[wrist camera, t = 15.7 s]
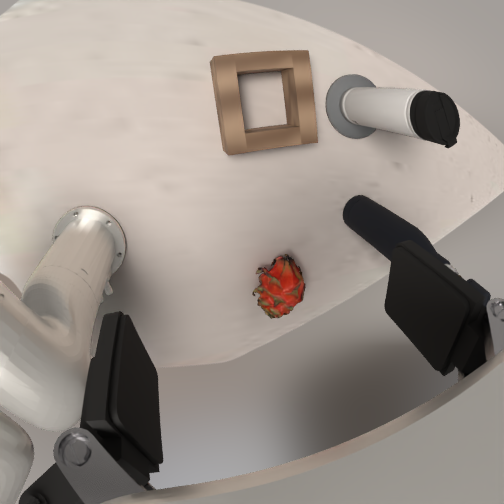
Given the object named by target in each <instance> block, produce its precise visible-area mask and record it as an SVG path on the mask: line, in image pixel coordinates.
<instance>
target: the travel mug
mask: <svg viewBox="0 0 504 504" xmlns="http://www.w3.org/2000/svg"><path fill="white" fill-rule="evenodd" d="M339 106H340V111H341V114H342V116H343V117H344V118H345V119H346V120H347V121H348V122H350V123H352V124H356V125H362V126H367V127H372V128H376V129H381V130H385V131H390V132H394V133H398V134H402V135H406V136H410V137H414V138H418V139H422V140H427V141H431V142H434V143H438V144H441V145H446V146H445V147H446V148H450V147H452V146H453V145H455V144H456V143H457V139H456V137H457V135H458V132H459V127H460V118H459V113H458V110H457V107H456V105H455V103H454V102H453V100H452V99H451V98H450V97H449V96H448V95H446V94H445V93H442V92H436V91H429V90H421V89H407V88H381V87H353V88H349V89H347V90H346V91H345V92H344V93H343V94H342V95H341V98H340V102H339Z"/></svg>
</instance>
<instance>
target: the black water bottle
mask: <svg viewBox="0 0 504 504" xmlns="http://www.w3.org/2000/svg"><path fill="white" fill-rule="evenodd" d="M343 220H344V222H345V224H346V225H347V226H349V227H350V228H351V229H352V230H354V231H355V232H356V233H357V234H359V235H360V236H361V237H362V238H363V239H365V240H366V241H367V242H368V243H370V244H371V245H372V246H373V247H374V248H376V249H377V250H378V251H379V252H380V253H382V254H383V255H384V256H385V257H386V258H388V259H389V260H390V261H391V260H392V252H393V249H394V248H395V246H396V244H398V243H400V242H404V241H407V240H412V241H414V242H415V243H416V244H418V245H419V246H421V247H422V248H423V249H425V250H426V251H427V252H429V253H430V254H432V255H433V256H434V257H436V258H437V259H438V260H440V261H441V262H442V263H444V264H445V265H446V266H447V267H449V268H450V269H451V270H453V271H454V272H455V273H456V274H458V272H457V270H456V269H455V268H453V267H452V266H451V265H450V262H449V261H448V260H446V259H445V258H444V257H442V256H441V255H440V254H438V253H437V252H436V250H435V249H434V247H433V246H432V244H431V243H430V241H429V240H428V238H427V237H426V236H425V235H424V234H423V233H422V232H421V231H420V230H419V229H418V228H417V227H415V226H414V225H412V224H410V223H409V222H407V221H406V220H404V219H403V218H401V217H399V216H398V215H396V214H394V213H393V212H391V211H390V210H388V209H386V208H385V207H383V206H381V205H380V204H378V203H376V202H374V201H373V200H371V199H369V198H368V197H365V196H363V195H358V196H355V197H353V198H351V199H350V200H349V201H348V202H347V204H346V205H345V208H344V211H343ZM459 276H460V275H459ZM460 277H461V276H460ZM467 282H468V283H469V284H470V285H471V286H473V287H474V288H475V289H476V290H478V291H479V292H480V293H481V294H482V295H484V296H485V297H486V298H485V301H484V303H483V305H484V306H485V307H486V305H487V303H488V301H490V296H491V295H490V293H489V292H488V291H486V290H485V289H484V288H483V287H482V286H480V285H479V284H478V283H477V282H475V281H474V280H473V279H469V280H467Z"/></svg>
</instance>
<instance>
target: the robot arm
mask: <svg viewBox="0 0 504 504" xmlns="http://www.w3.org/2000/svg"><path fill="white" fill-rule="evenodd" d="M76 212H78V214H77V213H76ZM108 220H109V221H111V222H109V221H108ZM58 236H59V237H58ZM125 249H126V243H125V237H124V234H123V231H122V229H121V227H120V225H119V224H118V223H117V221H116V220H115V219H114V218H113V217H112V216H111V215H110V214H108V213H107V212H105V211H103V210H101V209H98V208H96V207H90V206H81V207H77V208H74V209H72V210H70V211H68V212H67V213H66V214H64V215H63V216H62V218H61V219H60V220H59V221H58V223H57V225H56V227H55V230H54V233H53V245H52V246H51V248H50V249H49V250H48V252H47V253H46V255H45V256H44V258H43V259H42V260H41V262H40V263H39V265H38V266H37V268H36V269H35V271H34V272H33V274H32V275H31V277H30V278H29V280H28V281H27V283H26V285H25V287H24V290H23V293H22V298H21V300H20V299H19V298H18V297H17V296H16V295H15V294H14V293H12V291H11V290H10V289H9V288H7V286H6V285H5V284H3V282H2V281H1V280H0V406H1V407H3V408H4V409H6V410H8V411H9V412H10V413H12V414H13V415H15V416H17V417H18V418H19V419H21V420H23V421H25V422H27V423H28V424H30V425H33V426H35V427H38V428H40V429H43V430H48V431H64V430H67V429H69V428H71V427H72V426H74V425H75V424H76V423H77V422H78V421H79V420H80V419H81V423H80V428H72V429H69V430H67V431H65V432H63V433H62V434H61V435H60V436H59V437H58V439H57V441H56V443H55V445H54V450H53V452H54V459H55V461H56V463H55V464H53V466H51V467H50V468H49V469H48V470H47V471H46V472H45V473H44V474H43V475H42V476H41V477H40V478H38V479H37V481H35V482H34V483H33V484H32V485H31V486H30V487H29V488H28V489H27V490H26V491H24V493H23V494H22V495H21V497H20V500H19V504H504V299H501V298H494V299H491V300H490V301H488V303H487V305H486V307H485V306H484V305H483V303H484V301H485V298H486V297H485V296H484V295H482V294H481V293H480V292H479V291H478V290H476V289H475V288H474V287H473V286H471V285H470V284H469V283H468V282H467V281H465V280H464V279H463V278H462V277H460V276H459V275H458V274H456V273H455V272H454V271H453V270H451V269H450V268H449V267H447V266H446V265H445V264H444V263H442V262H441V261H440V260H438V259H437V258H436V257H434V256H433V255H432V254H430V253H429V252H427V251H426V250H425V249H423V248H422V247H421V246H419V245H418V244H416V243H415V242H414V241H412V240H407V241H404V242H400V243H398V244H396V246H395V248H394V249H393V252H392V260H391V267H390V274H389V282H388V288H387V294H386V299H385V311H386V313H387V314H388V315H389V317H390V318H391V319H392V320H393V321H394V322H395V323H396V325H398V327H399V328H400V329H401V330H402V331H403V332H404V334H405V335H406V336H407V337H408V338H409V339H410V341H411V342H412V343H413V344H414V345H415V346H416V348H417V349H418V350H419V351H420V352H421V353H422V355H423V356H424V357H425V358H426V359H427V361H428V362H429V363H430V364H431V365H432V367H433V368H434V369H435V370H437V371H440V372H441V374H442V375H443V376H445V375H447V374H448V373H450V372H451V371H453V370H454V368H455V366H456V367H457V368H458V383H456V384H454V385H453V386H451V387H450V388H448V389H447V390H445V391H444V392H442V393H441V394H439V395H437V396H436V397H434V398H432V399H431V400H429V401H427V402H426V403H424V404H422V405H420V406H419V407H417V408H415V409H413V410H412V411H410V412H408V413H406V414H404V415H403V416H401V417H399V418H397V419H395V420H393V421H391V422H389V423H387V424H385V425H383V426H381V427H379V428H376V429H374V430H372V431H370V432H368V433H366V434H363V435H361V436H359V437H357V438H354V439H352V440H350V441H347V442H345V443H342V444H340V445H337V446H335V447H332V448H329V449H327V450H324V451H322V452H319V453H316V454H313V455H311V456H307V457H304V458H301V459H298V460H295V461H292V462H289V463H286V464H283V465H279V466H275V467H272V468H268V469H264V470H260V471H256V472H253V473H249V474H244V475H239V476H235V477H230V478H226V479H221V480H216V481H210V482H205V483H199V484H192V485H186V486H178V487H172V488H167V489H166V488H165V489H158V490H156V489H155V488H154V487H153V486H152V485H151V484H150V483H149V480H150V475H149V473H154V472H159V464H161V463H163V452H162V441H161V428H160V413H159V393H158V375H157V371H156V369H155V367H154V365H153V363H152V361H151V359H150V357H149V355H148V353H147V351H146V349H145V347H144V345H143V343H142V341H141V339H140V337H139V335H138V333H137V331H136V329H135V327H134V325H133V323H132V321H131V318H130V317H129V315H124V314H123V313H122V312H121V311H119V312H114V313H110V314H105V315H104V317H103V321H102V326H101V330H100V335H99V340H98V344H97V349H96V354H95V357H93V358H92V359H90V345H91V337H92V332H93V327H94V323H95V319H96V315H97V312H98V308H99V304H101V303H103V301H104V298H103V296H102V294H103V291H105V294H106V295H111V294H112V293H113V290H112V287H111V285H110V284H109V280H110V276H111V275H112V274H114V273H115V272H116V271H117V270H118V268H119V267H120V265H121V264H122V261H123V259H124V255H125ZM119 252H120V253H121V254H120V253H119ZM33 459H34V447H33V443H32V441H31V439H30V437H29V435H28V434H27V433H26V432H25V430H24V429H23V428H22V427H21V426H20V425H18V424H17V423H16V422H15V421H13V420H12V419H11V418H10V417H8V416H7V415H6V414H4V413H3V412H2V411H0V504H15V503H16V501H17V498H18V497H19V494H20V492H21V490H22V488H23V486H24V484H25V482H26V479H27V477H28V475H29V472H30V469H31V466H32V463H33Z"/></svg>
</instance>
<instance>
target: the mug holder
mask: <svg viewBox="0 0 504 504" xmlns="http://www.w3.org/2000/svg"><path fill="white" fill-rule="evenodd" d="M210 66H211V73H212V80H213V87H214V94H215V100H216V107H217V114H218V120H219V127H220V133H221V140H222V146H223V151H225V152H226V153H227V154H228V155H234V154H240V153H246V152H252V151H258V150H264V149H271V148H278V147H285V146H293V145H301V144H309V143H318V137H317V124H316V113H315V102H314V93H313V83H312V75H311V66H310V58H309V51H308V50H291V51H265V52H250V53H239V54H229V55H221V56H214V57H213V58H212V60H211V61H210ZM274 71H281V75H282V83H283V91H284V99H285V108H286V117H287V124H284V125H276V126H268V127H260V128H253V129H246V130H244V122H243V115H242V108H241V101H240V93H239V86H238V79H237V75H240V74H250V73H260V72H274Z"/></svg>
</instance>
